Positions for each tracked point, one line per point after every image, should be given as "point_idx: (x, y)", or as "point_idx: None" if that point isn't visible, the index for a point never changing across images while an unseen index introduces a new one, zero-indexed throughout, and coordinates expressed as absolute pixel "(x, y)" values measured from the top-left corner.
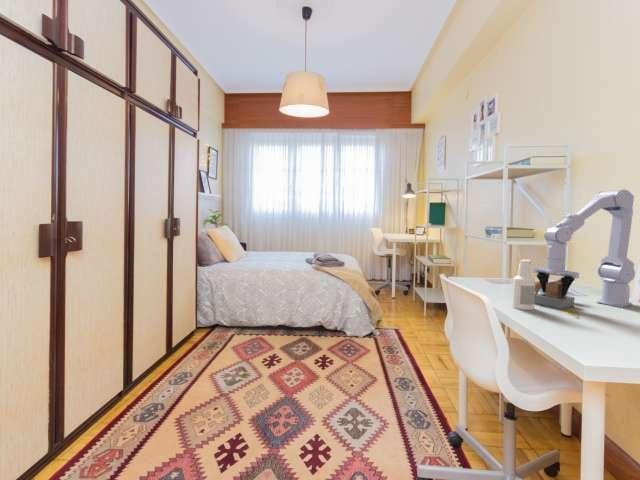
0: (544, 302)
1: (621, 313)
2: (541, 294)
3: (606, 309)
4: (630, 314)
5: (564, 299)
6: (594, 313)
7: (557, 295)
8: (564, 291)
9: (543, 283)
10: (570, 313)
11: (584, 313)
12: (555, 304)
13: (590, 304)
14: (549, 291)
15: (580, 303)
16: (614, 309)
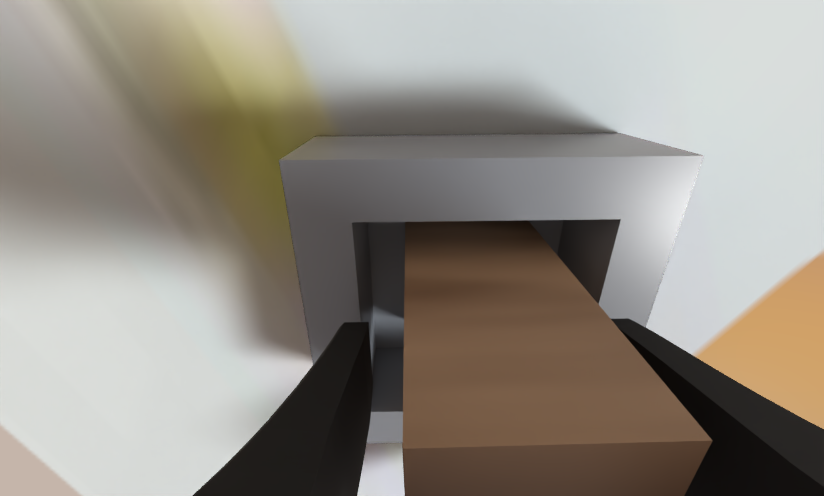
0: (514, 144)
1: (86, 435)
2: (622, 287)
3: (194, 455)
4: (54, 452)
5: (310, 260)
6: (127, 286)
7: (405, 286)
8: (312, 372)
9: (752, 432)
10: (186, 67)
11: (148, 209)
12: (380, 145)
13: None
14: (535, 306)
15: (367, 471)
16: (178, 487)
